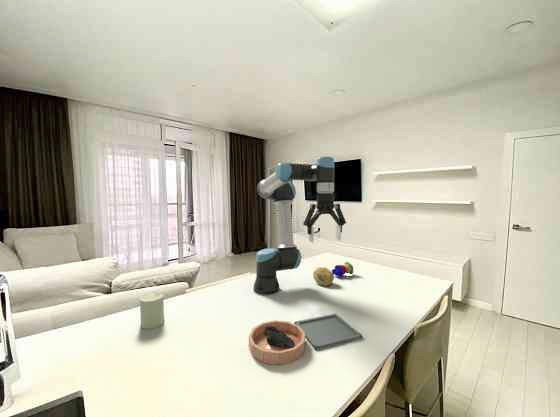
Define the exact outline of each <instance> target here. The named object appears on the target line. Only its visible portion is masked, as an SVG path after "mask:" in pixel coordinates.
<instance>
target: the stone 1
mask: <svg viewBox="0 0 560 417" xmlns="http://www.w3.org/2000/svg"><path fill="white" fill-rule="evenodd" d="M264 334H265V335H266V339H267V343H268V344H269V345H274V346H279V347H287V348H289V349H290V348H293V347H295V346H296V345H295V343H294V341H293V340H292V339H291V338H290V337H288V336H287V335H286V334H285V333H284V332H283V331H279V330H277V329H276V328H275V327H273V326H266V327H265V331H264Z"/></svg>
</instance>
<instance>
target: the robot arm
mask: <svg viewBox="0 0 560 417" xmlns="http://www.w3.org/2000/svg"><path fill="white" fill-rule="evenodd" d="M335 168H336V167H335V159H334V157H332V156H319V157H317V160H316V163H314V164H309V163H307V164H306V163H293V162H292V163H291V162H289V163H288V162H279V163H277V164H276V167H275V172H273V173H272V174H271V175H270V176H268V177H266V178H264V179H262V180H260V181H259V182H258V184H257V187H256V190H257V193H258V195H259V196H260V197H261V198H262V199H264V200H270V201H271V200H272V201H273V203H274V204H275V205H276V214H277V226H278V228H277V229H278V239H279V245H278V246H277V248H270V247H269V248H263V249H260V250H259V251H257V252H256V256H255V257H256V258H255V264H256V266H255V269H256V270H255V271H256V272H255V273H256V274H255V276H256V277H255V281H254V283H253V286H252V288H253V292H254V293H255V294H258V295H264V296H265V295H267V296H268V295H273V294H277V293H278V292H280V283H279V281H278V278H277V272H278V271H279V272H280V271H287V270H294V269H298V268H299V267H300V265H301V262H302V253H301V251H300V249H298V247H297V245H296V243H294V230H293V218H292V207H291V206H292V203H293V202H294V199H295V198H296V193H297V191H296V187H295V185H294V183H293V182H292V181H307V182H314V181H316V192H317V193H316V204H315V203H310V204H309V210H308V213H307V214H306V217H305V218H304V220H303V226H305V227H307V230H306V231H307V235H308V241H309V242H310V243H314V241H315V240H314V239H315V238H314V236H315V233H314V232H315V231H314V230H315V227H314V224H315V223H316V221H317V220H318V219H319V218H320V216H322V215H330V216H331V218H332V219H333V220H334V222H335V223H336V225H335V240H337V241H341V240H342V239H341V237H342V235H341V234H342V233H343V226H345V225H346V224H347V221H346V218H345V217H344V214H343V212H342V208H341V204H340V203H334V201H335V193H334V192H335ZM334 209H335V211H334ZM315 210H316V211H315Z"/></svg>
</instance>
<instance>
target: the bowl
mask: <svg viewBox="0 0 560 417" xmlns="http://www.w3.org/2000/svg"><path fill="white" fill-rule="evenodd" d="M266 326H273V327H275V328H276V329H277V330H279V331H283V332H284V333H285V334H286V335H287V336H288V337H290V338H291V339H292V340H293V341H294V343H295V345H296V346H295V347H293V348H290V349H289V348H287V347H279V346H274V345H269V344H268V343H267V339H266V335H265V334H264V331H265V327H266ZM305 346H306V338H305V333H304V331H303V330H302V329H301V328H300V327H299V326H298V325H295V324H294V323H293V322H290V321H287V320H277V319H276V320H271V321H265V322H261V323H259V324H258V325H256V326H254V327H253V328H252V329H251V331H250V333H249V335H248V348H249V352H250V354H251V356H252V357H253V358H255V360H257V361H259V362H261V363H263V364H266V365H276V366H278V365H279V366H280V365H287V364H290V363H293V362H295V361H297V360H298V359H299V358H301V357H302V355H303V354H304V352H305ZM296 359H297V360H296Z"/></svg>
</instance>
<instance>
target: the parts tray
mask: <svg viewBox="0 0 560 417" xmlns="http://www.w3.org/2000/svg"><path fill="white" fill-rule="evenodd" d="M293 324H295V325H298V326H299V327H300V328H301V329H302V330H303V331H304V333H305V340H306V341H307V342H308V343H309V345H310V346H311V347H312V348H313V349H314V351H319V350H321V349H326V348H330V347H333V346H338V345H341V344H345V343H349V342H353V341H354V342H355V341H357V340H361V339H363V334H362V333H360V332H359V331H358V330H357V329H356V328H354V327H353V326H351V324H349V323H348V322H347V321H346V320H344V319H343V318H342V317H340V316H339V315H338V314H337V313H331V314H326V315H321V316H317V317H312V318H311V317H310V318H307V319H302V320H297V321H294V323H293Z"/></svg>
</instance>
